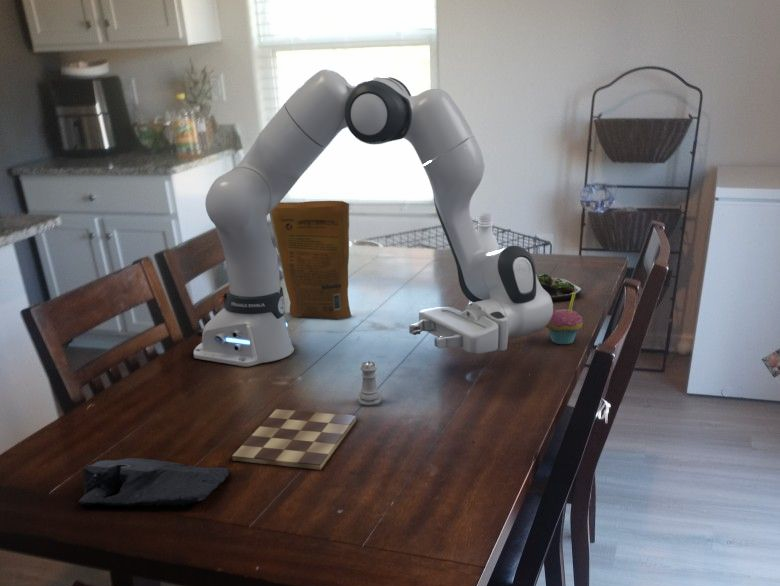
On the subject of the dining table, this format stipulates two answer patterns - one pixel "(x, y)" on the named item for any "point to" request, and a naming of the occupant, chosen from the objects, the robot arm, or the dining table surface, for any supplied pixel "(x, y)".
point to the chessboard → (295, 439)
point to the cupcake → (565, 324)
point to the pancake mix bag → (314, 256)
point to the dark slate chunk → (148, 482)
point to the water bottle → (486, 234)
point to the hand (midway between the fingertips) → (423, 336)
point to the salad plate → (558, 288)
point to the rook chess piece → (369, 385)
